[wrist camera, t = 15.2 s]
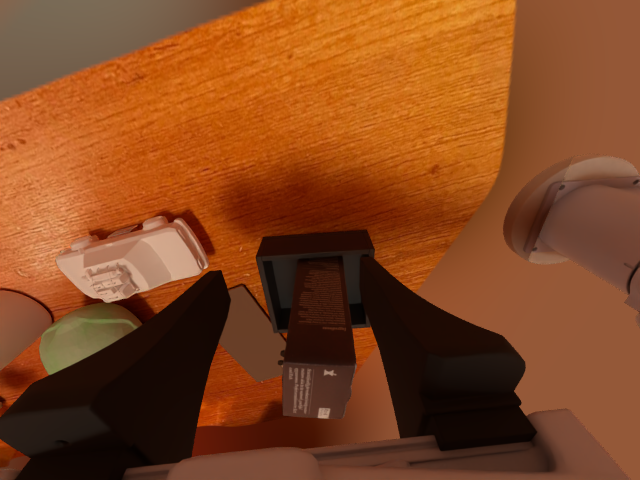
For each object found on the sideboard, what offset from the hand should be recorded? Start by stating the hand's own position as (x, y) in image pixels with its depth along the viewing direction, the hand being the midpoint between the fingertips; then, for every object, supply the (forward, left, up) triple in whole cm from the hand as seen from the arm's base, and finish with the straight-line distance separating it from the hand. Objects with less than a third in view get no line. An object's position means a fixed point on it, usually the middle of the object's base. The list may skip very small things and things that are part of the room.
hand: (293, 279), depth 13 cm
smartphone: (+8, +17, -11) cm, 22 cm away
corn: (+22, +17, -11) cm, 30 cm away
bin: (-1, +8, -10) cm, 13 cm away
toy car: (+15, +3, -11) cm, 19 cm away
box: (-1, +7, -10) cm, 12 cm away
